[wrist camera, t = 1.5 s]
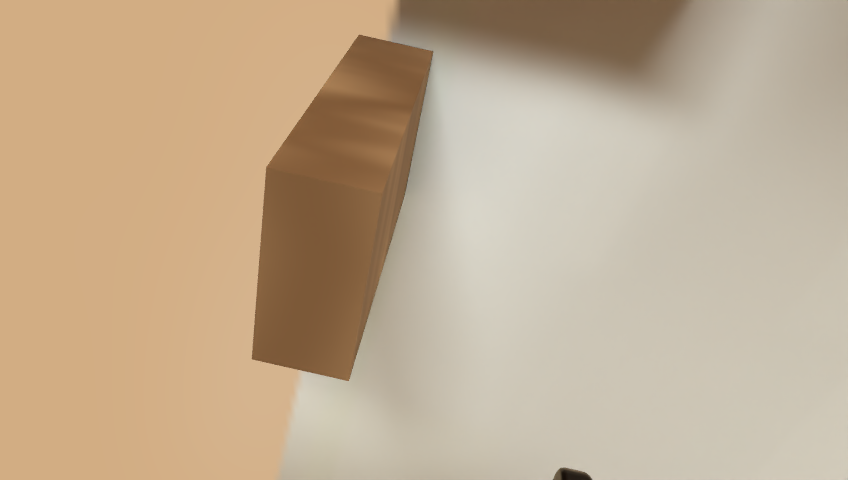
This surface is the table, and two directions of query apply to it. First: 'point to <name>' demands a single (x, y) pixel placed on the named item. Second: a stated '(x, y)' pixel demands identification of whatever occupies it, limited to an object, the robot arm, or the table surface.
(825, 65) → the table surface
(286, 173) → the wooden block
